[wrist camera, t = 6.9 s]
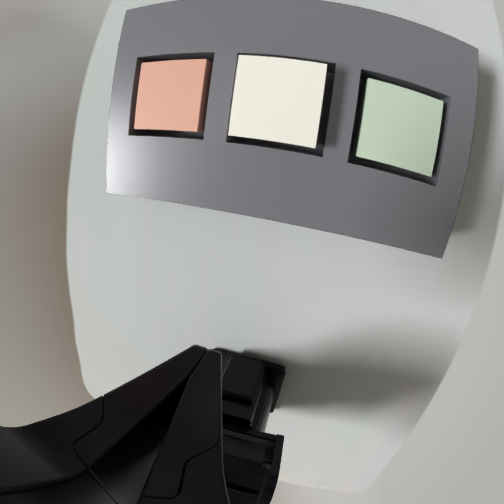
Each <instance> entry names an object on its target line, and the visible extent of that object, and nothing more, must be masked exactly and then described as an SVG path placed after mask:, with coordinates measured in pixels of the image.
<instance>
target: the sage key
mask: <svg viewBox="0 0 504 504" xmlns="http://www.w3.org/2000/svg"><path fill="white" fill-rule="evenodd" d="M442 110H443V101H441V100H438V99H436V98H433V97H430V96H427V95H424V94H422V93H419V92H416V91H413V90H410V89H406V88H403V87H400V86H396V85H393V84H390V83H386V82H382V81H379V80H375V79H371V78H368V79H367V80H366V82H365V83H364V84H363V85H362V88H361V96H360V103H359V110H358V117H357V124H356V130H355V136H354V142H353V148H352V154H353V155H355V156H357V157H361V158H366V159H370V160H374V161H378V162H381V163H385V164H389V165H393V166H396V167H400V168H403V169H407V170H410V171H414V172H417V173H420V174H423V175H427V176H430V177H431V176H432V171H433V166H434V161H435V156H436V151H437V145H438V139H439V132H440V126H441V118H442Z"/></svg>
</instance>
